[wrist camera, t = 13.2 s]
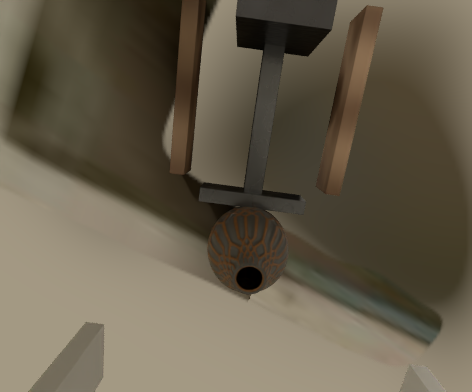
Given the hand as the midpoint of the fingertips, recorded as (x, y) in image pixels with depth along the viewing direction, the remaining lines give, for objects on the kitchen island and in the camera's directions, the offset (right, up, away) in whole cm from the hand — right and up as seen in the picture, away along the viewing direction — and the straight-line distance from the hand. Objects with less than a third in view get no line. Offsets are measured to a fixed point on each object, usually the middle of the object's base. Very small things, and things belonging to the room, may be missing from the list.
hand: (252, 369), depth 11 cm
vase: (0, +4, +15) cm, 16 cm away
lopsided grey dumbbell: (+2, +15, +12) cm, 19 cm away
